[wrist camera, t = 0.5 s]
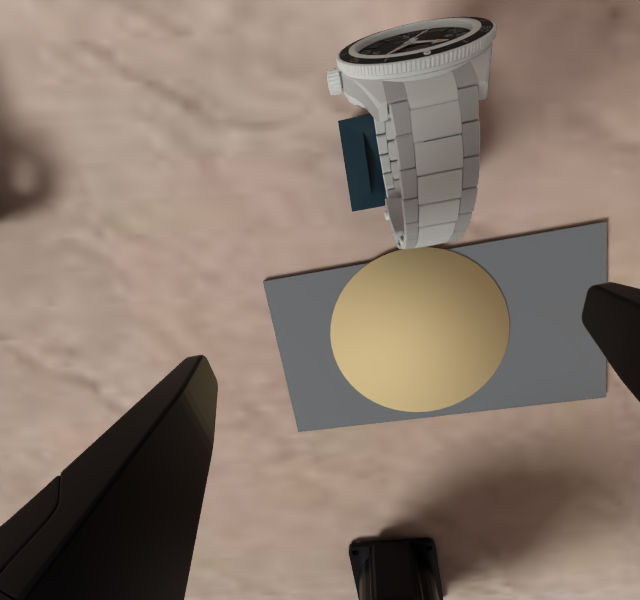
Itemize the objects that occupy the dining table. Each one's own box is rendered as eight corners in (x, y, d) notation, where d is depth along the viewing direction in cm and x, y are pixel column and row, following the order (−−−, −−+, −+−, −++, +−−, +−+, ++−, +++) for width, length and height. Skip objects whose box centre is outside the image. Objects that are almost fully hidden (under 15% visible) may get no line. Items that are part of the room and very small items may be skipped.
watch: (437, 71, 19) (537, -86, 9) (450, 223, 21) (545, 246, 11) (333, 94, 20) (308, -23, 9) (355, 239, 22) (356, 276, 11)
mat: (603, 394, 23) (607, 397, 23) (299, 429, 26) (298, 432, 25) (603, 212, 20) (608, 212, 20) (262, 273, 23) (260, 274, 23)
